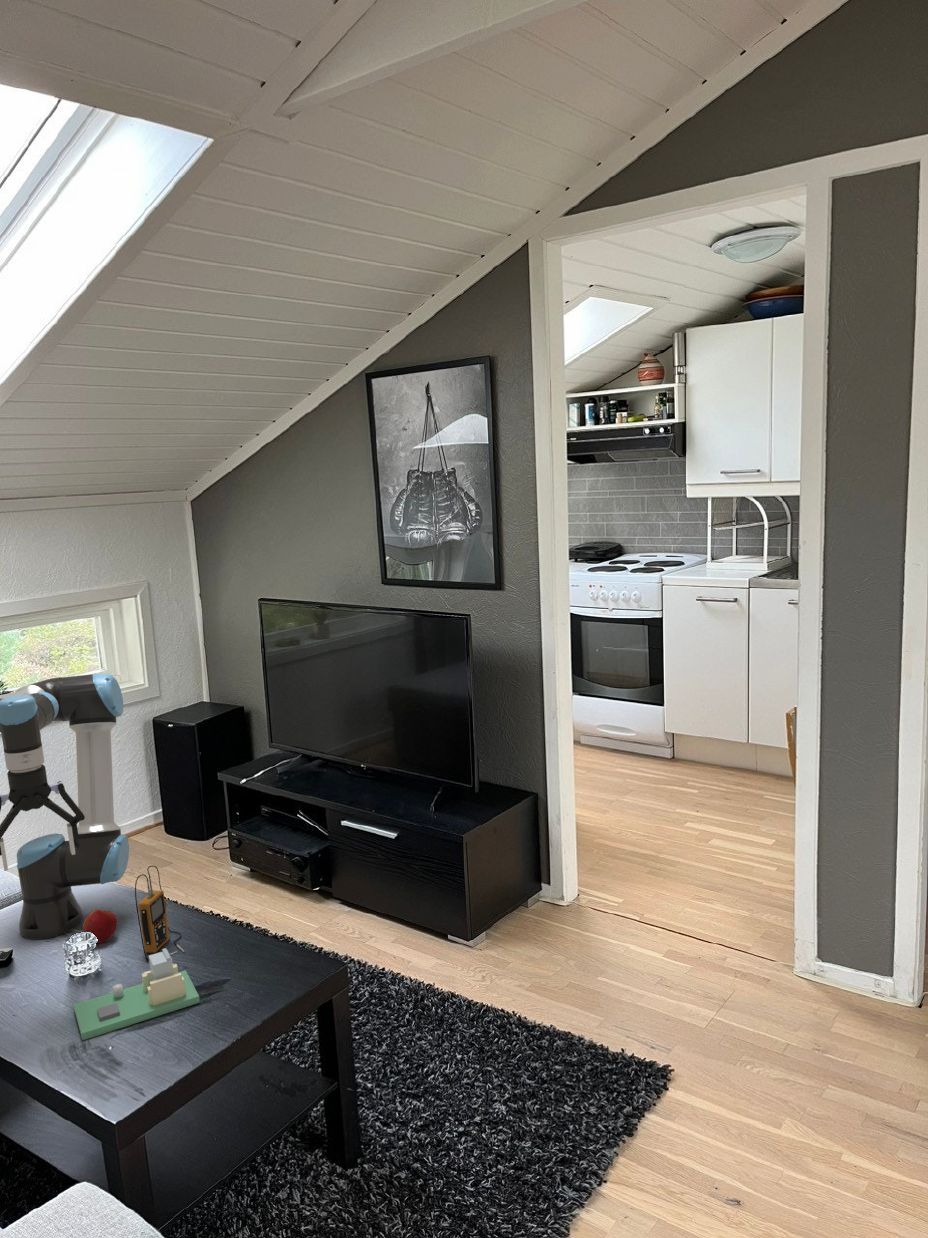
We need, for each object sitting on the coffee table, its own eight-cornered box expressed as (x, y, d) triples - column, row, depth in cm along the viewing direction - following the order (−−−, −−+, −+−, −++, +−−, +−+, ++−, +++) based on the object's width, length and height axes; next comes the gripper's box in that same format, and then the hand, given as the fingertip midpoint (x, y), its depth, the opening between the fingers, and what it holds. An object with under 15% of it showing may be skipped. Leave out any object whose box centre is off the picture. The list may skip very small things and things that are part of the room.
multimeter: (175, 963, 225) (164, 883, 221) (136, 962, 227) (125, 882, 223) (203, 933, 239) (194, 857, 235) (167, 931, 241) (157, 856, 238)
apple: (115, 946, 235) (111, 915, 234) (81, 950, 234) (77, 920, 233) (122, 931, 243) (117, 901, 241) (88, 935, 242) (84, 906, 240)
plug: (153, 989, 211) (148, 953, 209) (171, 983, 213) (166, 947, 211) (157, 999, 206) (152, 963, 205) (176, 993, 208) (171, 957, 207)
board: (74, 1011, 207) (70, 983, 206) (186, 976, 218) (183, 950, 217) (82, 1040, 196) (78, 1011, 195) (199, 1002, 207) (196, 974, 206)
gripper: (-39, 784, 197) (-23, 881, 200) (89, 759, 208) (102, 851, 212) (-40, 775, 203) (-24, 869, 207) (85, 751, 215) (97, 841, 218)
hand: (39, 860), depth 209 cm, fingers open, 13 cm apart
